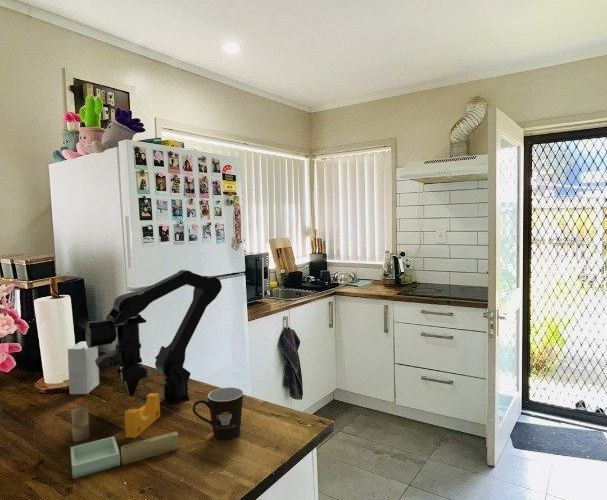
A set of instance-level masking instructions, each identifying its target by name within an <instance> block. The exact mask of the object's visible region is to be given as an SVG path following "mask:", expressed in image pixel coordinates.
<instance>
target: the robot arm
mask: <svg viewBox="0 0 607 500" xmlns="http://www.w3.org/2000/svg"><path fill="white" fill-rule="evenodd" d="M185 285H188V286H190V287H193V293H192V294H193V295H192V301H191V303H190V305H189V307H188V309H187V311H186V313H185V315H184V317H183V319H182V320H181V322H180V325H179V327H178V328H177V330H176V332H175V335H174V336H173V339H172V340H171V342H170V343H169V344H168V345H167V346H166V347H165V346H164V345H161V347H160V349H159V351H158V353H157V355H156V356H155V357H154V359H155V363H154V365H155V369H156V370H157V372H158V373H160V374H161V375H162V377H164V378H163V383H162V385H161V387H162V399H163V400H164V401H165V402H166V403H167V404H169V405H170V404H174V403H178V402H183V401H188V400H190V399H191V397H190V396H189V386H188V385H189V383H188V381H189V380H190V377H191V371H189V370H187V369H186V368H185V367H184V364H185V360H186V352H187V351H186V350H187V347H188V345H189V343H190V342H191V339H192V337H193V335H194V333H195V331H196V330H197V328H198V325H199V323H200V321H201V320H202V317H203V315H204V313H205V311H206V309H207V308H208V306H209V305H210V304H212V302H213V301H214V300H216V298H217V297H218V295H219V294H220V292H221V291H222V289H223V288H222V287H223V285H222V282H221V280H220V279H219V278H218V277H215V276H210V275H200V274H197V273H194V272H192V271H191V270H187V269H181V270H179V271H178V272H176V273H174V274H172V275H170V276H168V277H166V278H164V279H162V280H160V281H158V282H156V283H154V284H152V285H150V286H148V287H145V288H144V289H140V290H136V291H131V292H128V293H124V294H121V295H118V296H117V297H116V298H115V299H114V302H113V304H112V305H113V308H111V310H110V311H109V313H108V314H107V316H106V318H105V319H101V320H92V321H90V320H89V321H87V323H86V324H87V326H86V328H85V329H86V331H85V333H84V334H85V342H86V343H87V346H88V348H92V347H97V346H98V347H103V346H106V345H112V344H113V342H117V343H116V344H115V348H114V350H112V351H109V352H107V353H105V354H103V355H100V356H98V358H97V359H96V360H95V362H96V365H97V367H98V369H99V374H104V373H106V372H107V371H108V370H111V369H112V368H114V367H117V366H118V369H116V371H117V374H118V376H119V377H120V379H121V381H122V382H123V383H125V386H126V389H127V393H128V396H129V397H133V396H134V395H135V392H136V390H137V387H138V385H139V382H140V381H141V379H146V378H148V377H149V376H148V369H147V368H146V366H145V365H144V364H142V363H143V360H142V357H141V348H142V344H141V342H140V341H141V340H140V324H145V323H147V320H146V319H145V318H144V317H142V315H141V313H142V312H143V311H144V310H145V309H147V308H148V307H149V305H150V304H151V303H153V302H154V301H156V300H158V299H160V298H162V297H164V296H166V295H168V294H170V293H172V292H174V291H177V290H178V289H180V288H182V287H184V286H185ZM116 340H117V341H116Z"/></svg>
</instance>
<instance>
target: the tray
mask: <svg viewBox="0 0 607 500" xmlns="http://www.w3.org/2000/svg"><path fill="white" fill-rule="evenodd" d="M118 446H119V445H118V444H117V441H116V437H115V435H113V436H109V437H106V438H101V439H97V440H94V441H90V442H86V443H85V442H84V443H81V444H77V445H74V446H70V447H69V448H70V462H71V463H70V464H71V473H72V475H71V476H72V479H76V478H80V477H84V476H87V475H90V474H93V473H98V472H101V471H104V470H109V469H111V468H114V467H118V466H120V465H121V455H120V454H121V452H120V451H119V447H118Z"/></svg>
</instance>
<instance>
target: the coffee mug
mask: <svg viewBox="0 0 607 500" xmlns="http://www.w3.org/2000/svg"><path fill="white" fill-rule="evenodd" d="M207 400H208V401H207ZM207 400H204V399H203V400H202V399H199V400H197V401H195V402H194V403H193V405H192V412H193V414H195V416H196V417H197V418H199V419H200V420H202V421H204V422H206V423H208V424H209V425H210V426H211V427H212V433H213V437H214V438H215V439H216V440H219V441H229V440H233V439H236V438H237V437H239V436H240V434H241V426H242V425H241V424H242V416H243V415H242V412H243V401H244V391H243V390H242V388H241V389H240V388H239V387H230V386H229V387H219V388H216V389H214V390H212V391H210V392H209V393H208V395H207ZM198 404H204V405H206V407H207V408H208V409H209V413H210V420H209V419H207V418H205V417H203V416H202V415H200V414H199V413H198V412H197V411H196V406H197V405H198Z"/></svg>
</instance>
